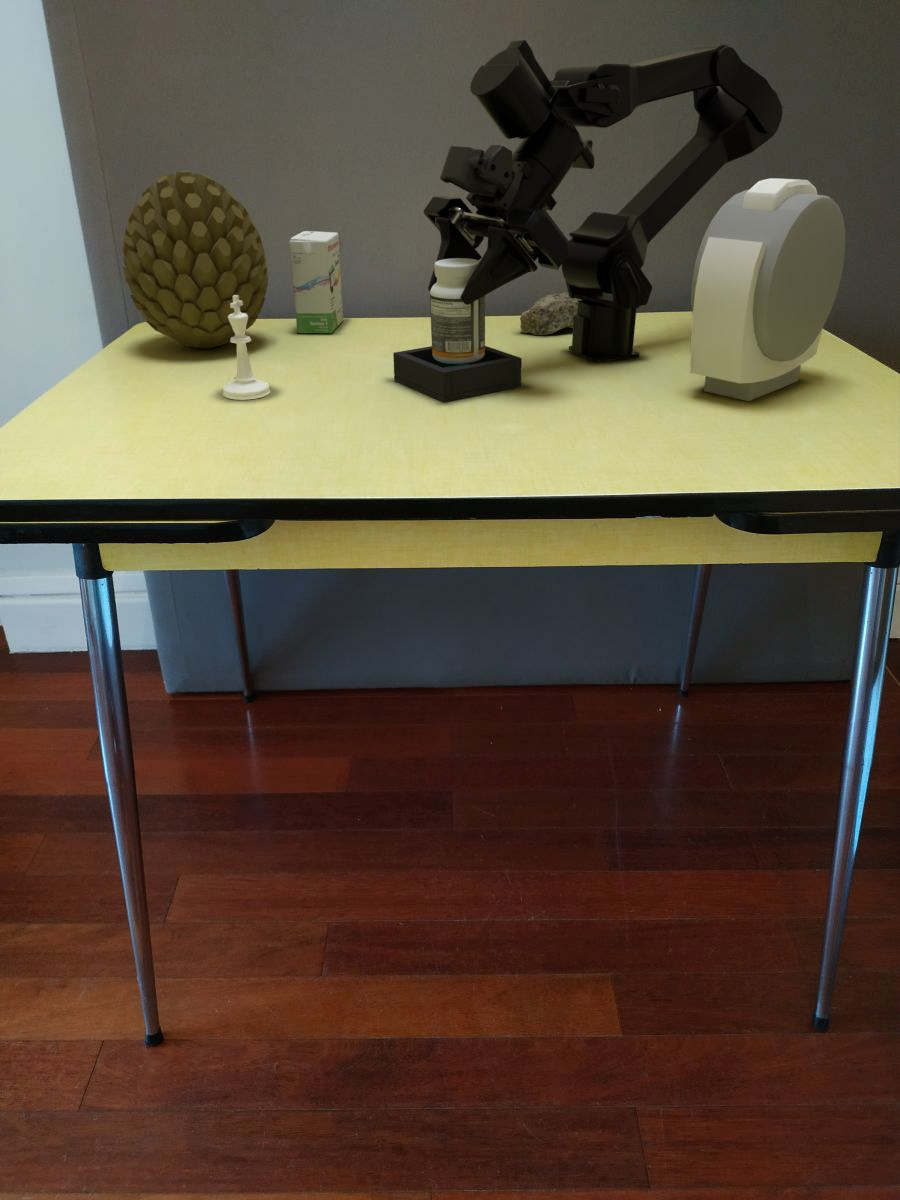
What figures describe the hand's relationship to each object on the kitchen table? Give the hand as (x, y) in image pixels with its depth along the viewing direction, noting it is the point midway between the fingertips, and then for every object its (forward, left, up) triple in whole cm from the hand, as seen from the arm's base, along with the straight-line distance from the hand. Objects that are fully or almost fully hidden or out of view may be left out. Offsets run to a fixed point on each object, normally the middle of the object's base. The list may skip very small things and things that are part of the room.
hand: (446, 297), depth 94 cm
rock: (-22, -20, -9) cm, 32 cm away
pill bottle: (-1, 0, -7) cm, 7 cm away
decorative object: (+22, -28, -9) cm, 37 cm away
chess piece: (+21, -5, -9) cm, 24 cm away
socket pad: (-1, 0, -9) cm, 9 cm away
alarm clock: (-30, +13, -9) cm, 34 cm away
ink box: (+6, -33, -9) cm, 35 cm away
